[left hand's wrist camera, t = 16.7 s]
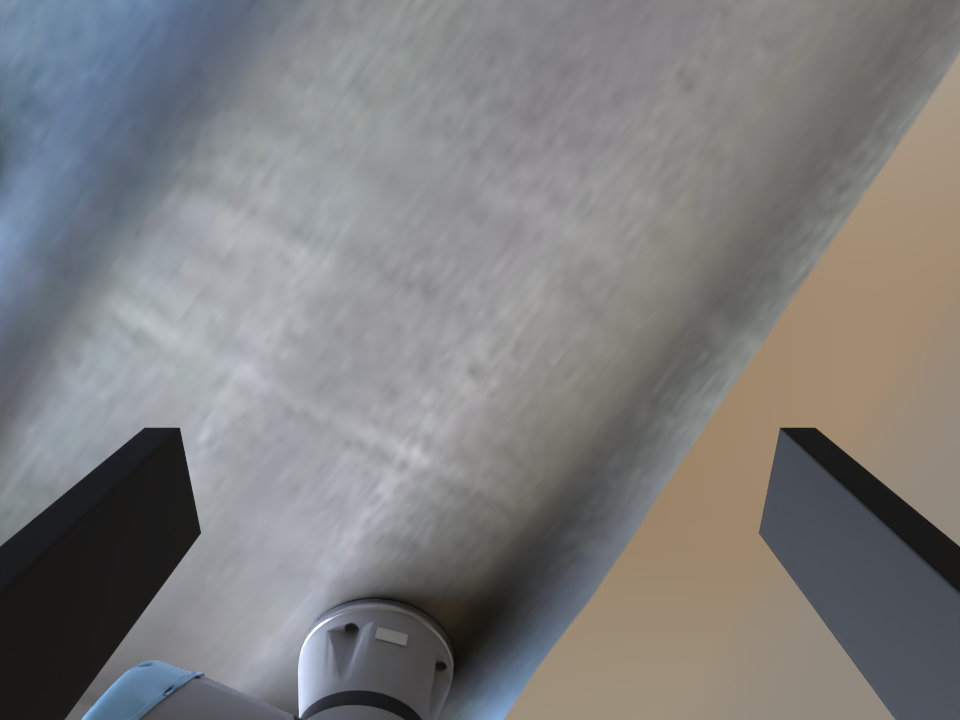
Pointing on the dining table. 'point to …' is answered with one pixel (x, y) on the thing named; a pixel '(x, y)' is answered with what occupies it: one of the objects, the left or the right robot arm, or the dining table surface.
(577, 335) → the dining table surface
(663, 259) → the dining table surface
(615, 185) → the dining table surface
